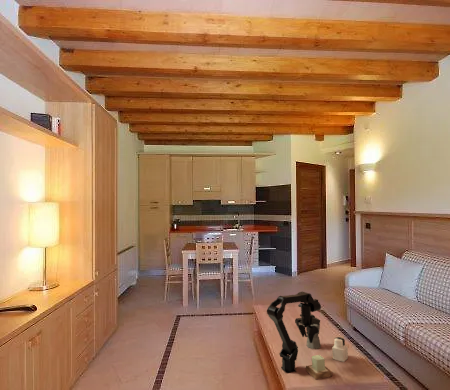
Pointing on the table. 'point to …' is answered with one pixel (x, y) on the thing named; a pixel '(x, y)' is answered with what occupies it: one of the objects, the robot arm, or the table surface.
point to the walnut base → (318, 372)
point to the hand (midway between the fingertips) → (307, 339)
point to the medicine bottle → (339, 350)
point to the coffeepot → (314, 340)
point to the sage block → (318, 363)
